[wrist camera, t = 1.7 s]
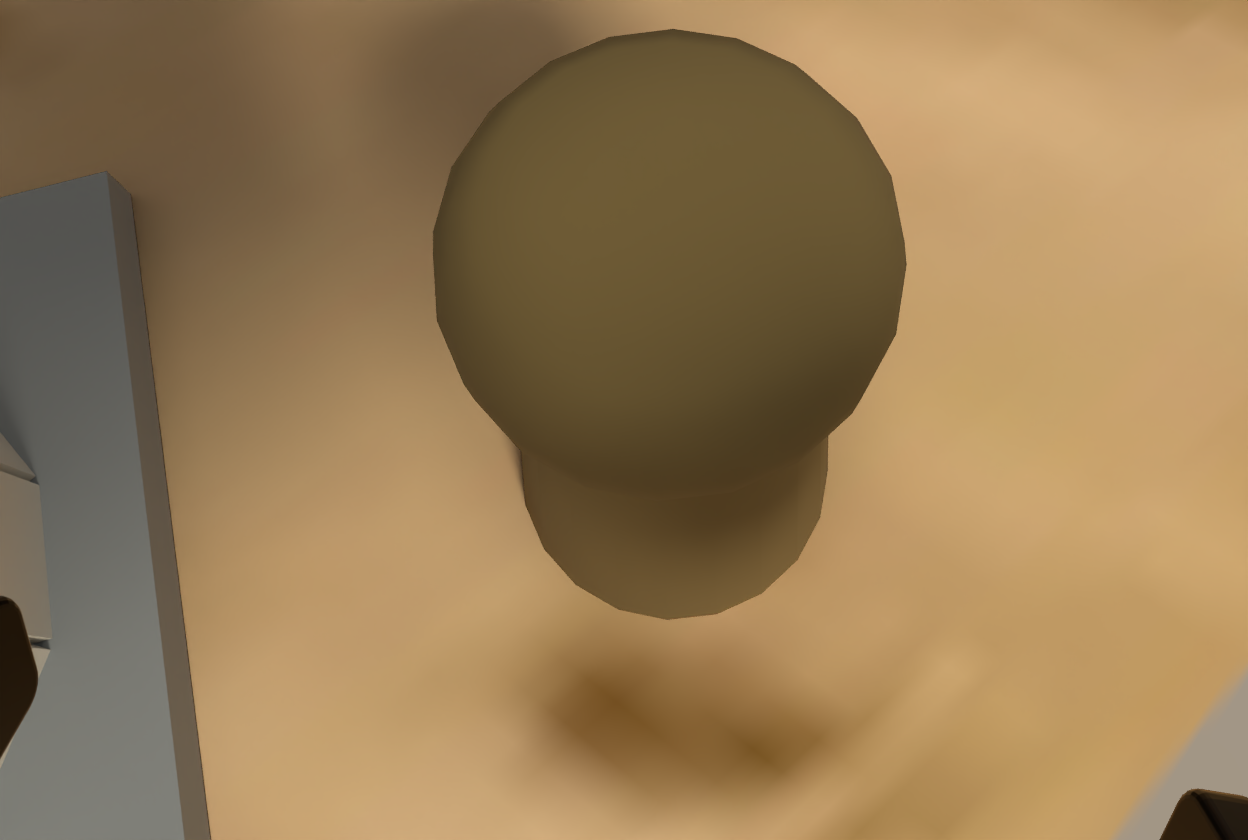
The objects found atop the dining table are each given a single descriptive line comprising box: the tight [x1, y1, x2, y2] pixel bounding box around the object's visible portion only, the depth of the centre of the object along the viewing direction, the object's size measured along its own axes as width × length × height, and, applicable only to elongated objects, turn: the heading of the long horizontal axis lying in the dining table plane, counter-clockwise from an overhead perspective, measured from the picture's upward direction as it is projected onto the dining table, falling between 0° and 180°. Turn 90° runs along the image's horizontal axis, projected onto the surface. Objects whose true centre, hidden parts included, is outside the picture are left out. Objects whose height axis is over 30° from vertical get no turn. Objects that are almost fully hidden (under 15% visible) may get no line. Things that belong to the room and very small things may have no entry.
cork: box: [433, 29, 906, 620], centre depth 15 cm, size 6×6×11 cm
